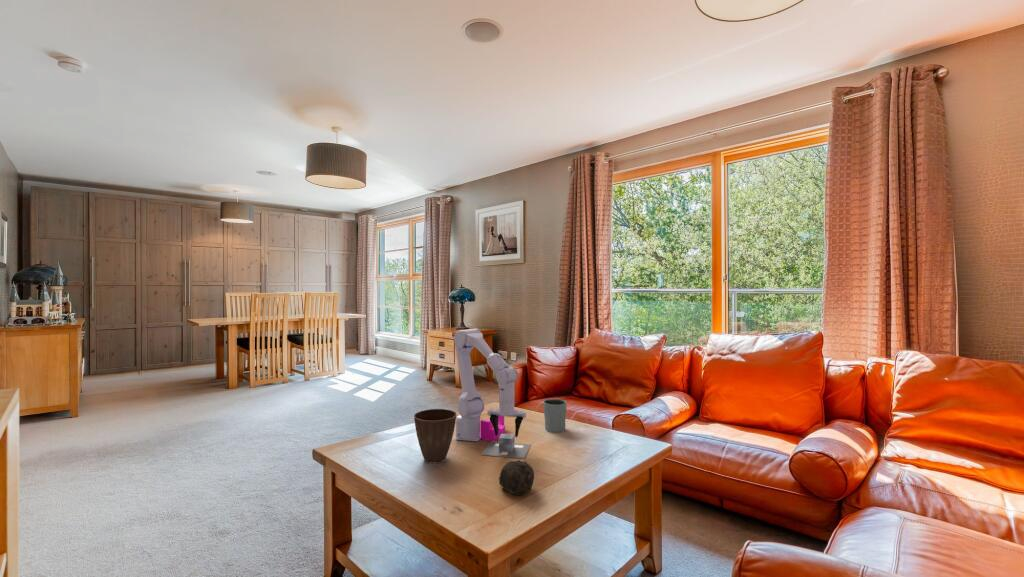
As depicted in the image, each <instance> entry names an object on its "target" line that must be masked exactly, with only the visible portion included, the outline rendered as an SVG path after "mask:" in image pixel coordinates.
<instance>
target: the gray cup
mask: <svg viewBox="0 0 1024 577" xmlns="http://www.w3.org/2000/svg"><path fill="white" fill-rule="evenodd" d="M542 404H543V405H542V406H543V413H544V415H543V416H544V429H545V431H547V432H549V433H557V434H558V433H563V432H565V431H566V419H567V418H566V415H567V401H566V400H565V399H559V398H549V399H544V400H543V401H542Z"/></svg>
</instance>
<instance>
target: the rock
mask: <svg viewBox="0 0 1024 577" xmlns="http://www.w3.org/2000/svg"><path fill="white" fill-rule="evenodd" d="M534 481H535V471H534V468H533V467H532V466H531V465H530V464H529V463H528V462H526V461H525V460H524V461H522V460H520V459H518V460H510V461H507V462H506V463H505V464H504V465H503V467H502V469H501V470H500V474H499V477H498V483H499V485H500V486H501V487H502V488H503V490H505V491H507V492H508V493H509V494H511V495H515V496H521V495H523V494H525V493H527V492H531V491H532V488H533V486H534Z"/></svg>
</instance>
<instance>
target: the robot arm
mask: <svg viewBox="0 0 1024 577" xmlns="http://www.w3.org/2000/svg"><path fill="white" fill-rule="evenodd" d="M453 339H454V340H453V341H454V346H455V354H456V355H455V356H456V359H457V360H456V361H457V366H458V371H459V372H458V373H459V378H460V383H461V384H460V385H461V390H462V393H461V395H460V396H459V397H458V400H457V402H458V407H457V410H458V413H459V415H458V416H456V422H455V428H456V429H455V434H456V435H455V440H456V441H466V442H467V441H468V442H469V441H470V442H479V441H480V440H481V416H482V413H483V412H484V411H485V402H484V400H483V397H482V394H481V393H480V392H478V391H477V389H476V384H475V378H474V372H473V371H474V370H473V364H472V359H471V356H470V355H471V354H470V353H471V351H473V349H474V348H476V350H478V351H479V352H480V353H481V355H482V356H483V357H484V358H486V364H487V365H488V366H489V368H490V369H491V370H492V371H493V372H494V374H495V378H496V381H497V385H498V388H499V390H498V391H499V392H498V393H499V394H498V395H499V404H498V406H499V407H498V409H494V408H492V409H490V408H489V409H487V416H488V417H489V420H490V421H491V423H492V425H493V428H494V431H495V435H496V436H497V435H498V419H499V416H504V417H508V418H509V417H510V418H515V419H514V424H515V426H514V427H515V431H514V434H515V438H517V437H518V436H519V432H520V431H519V430H520V427H521V424H522V422H523V420H524V419H526V418H527V411H522V410H517V409H515V395H516V394H515V390H516V389H515V383H516V381H517V380H518V378H519V372H518V370H517V369H516V367H515V366H512V365H510V364H509V363H507V362H506V361H505V360H504V358H503V357H502V355H501V354H500V353H496V352H495V353H494V352H493V350H492V349H491V347H490V346H489V345H488V343H487V342H486V341H485V339H484V335H483V333H482V332H481V330H480V329H478V328H477V327H476V328H469V329H459V330H457V331H456V332H455V334H454V336H453Z"/></svg>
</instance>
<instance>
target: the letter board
mask: <svg viewBox="0 0 1024 577" xmlns="http://www.w3.org/2000/svg"><path fill="white" fill-rule="evenodd" d="M531 446H532V444H530V443H529V444H528V443H516V442H515V448H514V449H513V451H512V452H501V451H499V441H489V443H488V445H487V446H486V447H485V449H484V450H483V451H482V453H481V456H486V457H487V456H488V457H498V458H499V457H500V458H511V459H523V460H525V459H526V456H527V454H528V452H529V449H530V447H531Z"/></svg>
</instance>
